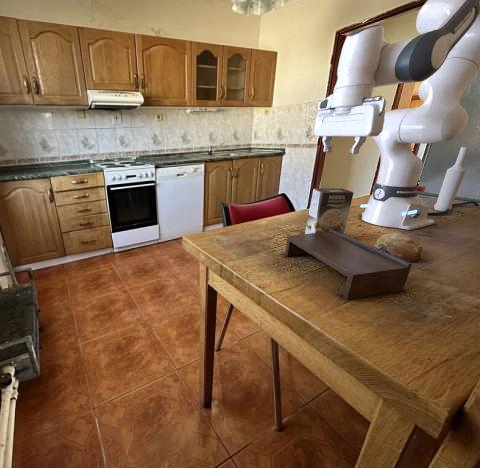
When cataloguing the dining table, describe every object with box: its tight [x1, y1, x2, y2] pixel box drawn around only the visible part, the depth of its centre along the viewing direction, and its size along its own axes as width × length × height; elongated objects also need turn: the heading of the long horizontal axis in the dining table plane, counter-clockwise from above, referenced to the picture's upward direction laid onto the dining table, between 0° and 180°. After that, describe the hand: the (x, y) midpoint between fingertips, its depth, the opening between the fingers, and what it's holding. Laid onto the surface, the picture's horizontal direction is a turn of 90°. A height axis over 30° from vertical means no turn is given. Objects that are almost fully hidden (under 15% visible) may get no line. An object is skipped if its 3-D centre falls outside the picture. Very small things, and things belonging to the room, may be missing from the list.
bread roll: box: [374, 232, 423, 263], centre depth 71 cm, size 10×10×8 cm
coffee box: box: [304, 187, 354, 234], centre depth 82 cm, size 9×6×16 cm
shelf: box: [284, 229, 413, 300], centre depth 64 cm, size 14×22×7 cm, turn 10°
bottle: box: [433, 146, 470, 212], centre depth 103 cm, size 5×5×25 cm
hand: (339, 153), depth 75 cm, fingers open, 8 cm apart
